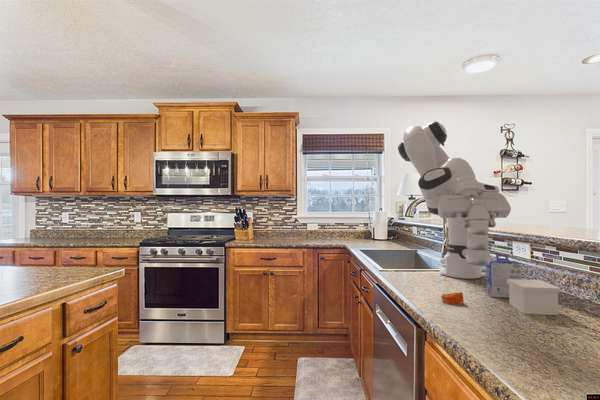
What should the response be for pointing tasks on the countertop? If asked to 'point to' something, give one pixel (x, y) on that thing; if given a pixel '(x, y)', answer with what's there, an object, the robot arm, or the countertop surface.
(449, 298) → the rock
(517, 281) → the white square block
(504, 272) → the ink cartridge box
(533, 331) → the countertop surface
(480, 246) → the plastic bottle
